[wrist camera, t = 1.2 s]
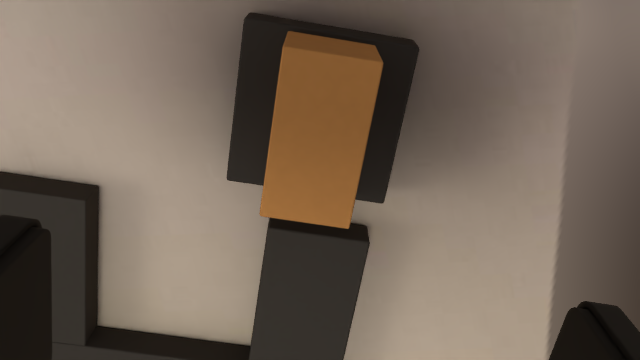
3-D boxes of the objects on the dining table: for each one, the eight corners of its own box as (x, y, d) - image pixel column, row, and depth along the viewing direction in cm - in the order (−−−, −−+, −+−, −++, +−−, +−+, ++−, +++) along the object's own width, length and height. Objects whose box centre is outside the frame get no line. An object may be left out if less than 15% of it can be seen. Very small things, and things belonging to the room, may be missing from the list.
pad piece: (248, 12, 22) (231, 30, 18) (414, 39, 22) (435, 64, 18) (231, 166, 24) (212, 215, 20) (380, 189, 25) (392, 241, 20)
